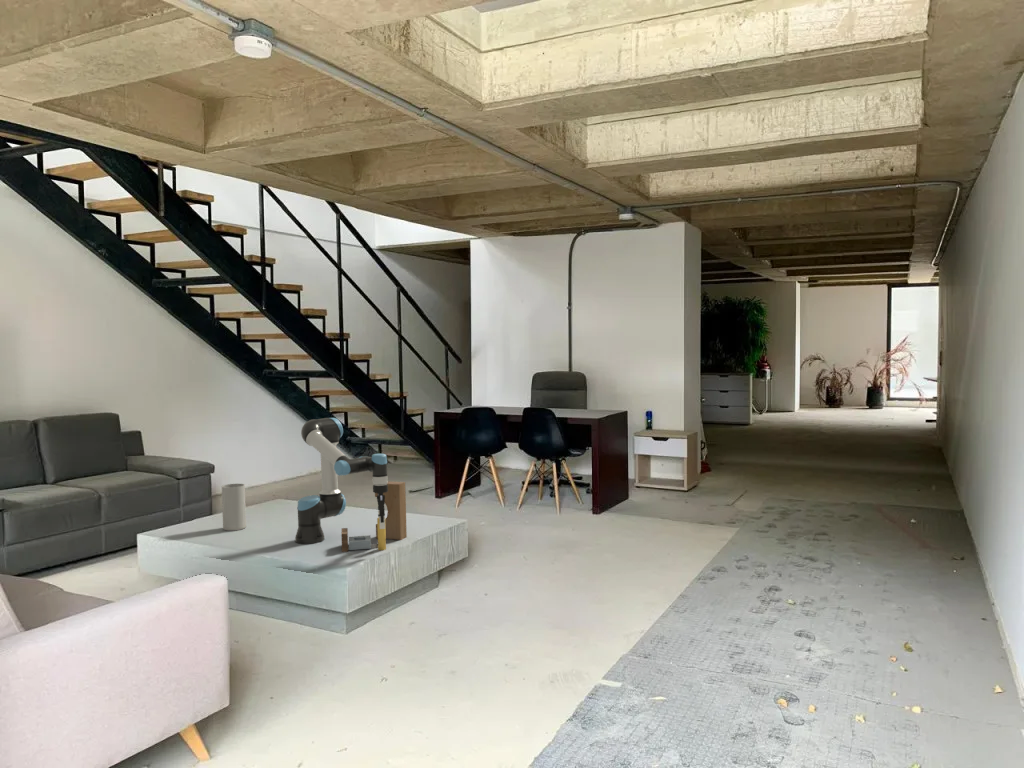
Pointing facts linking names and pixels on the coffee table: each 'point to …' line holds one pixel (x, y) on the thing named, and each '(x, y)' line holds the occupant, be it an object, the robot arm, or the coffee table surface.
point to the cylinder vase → (233, 507)
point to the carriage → (359, 542)
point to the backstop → (344, 539)
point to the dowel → (381, 537)
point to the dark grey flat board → (371, 546)
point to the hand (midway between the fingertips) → (381, 525)
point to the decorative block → (395, 511)
